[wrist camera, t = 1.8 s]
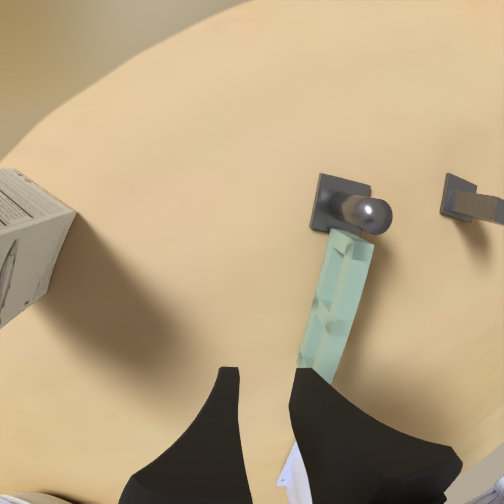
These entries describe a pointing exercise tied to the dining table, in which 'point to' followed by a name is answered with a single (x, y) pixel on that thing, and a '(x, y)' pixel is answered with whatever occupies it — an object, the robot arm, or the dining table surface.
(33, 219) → the supplement box
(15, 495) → the soup bowl
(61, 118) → the dining table surface
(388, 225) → the hinge post
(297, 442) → the robot arm
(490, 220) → the post
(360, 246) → the gate
